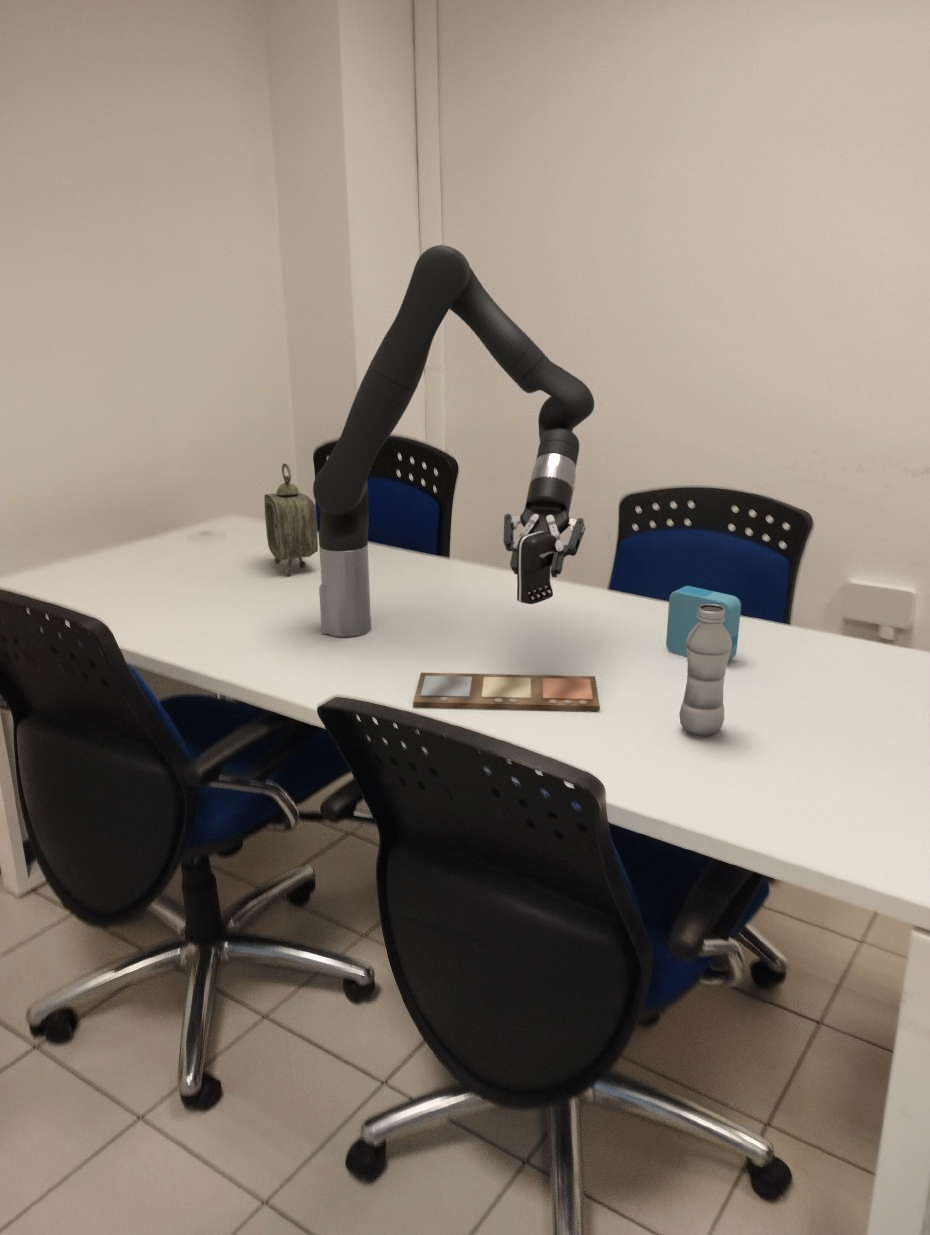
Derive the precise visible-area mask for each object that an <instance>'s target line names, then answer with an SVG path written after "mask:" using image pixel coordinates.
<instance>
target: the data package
mask: <svg viewBox="0 0 930 1235" xmlns="http://www.w3.org/2000/svg"><path fill="white" fill-rule="evenodd" d="M704 604H714V605H719V606H722V607H724V610H725V613H724V617H725V621H724V622H723V623H722V624H723V625H724V627H725V628H726V630H727V631H728V633H729V635H730V636H731V641H732V647H731V650H730V655H729V659H728V661H730V660H731V659H733V658H735V657H736V655H737V652H738V641H739V631H740V621H741V608H742V602H741V600H740V598H738V597H737V596H735V595H731V594H727V593H722V592H718V591H713V590H709V589H704V588H699V587H695V586H691V585H684V586H682V587H681V588H680V587H679V589H676V590H675V591H673V592H671V593H670V595H669V598H668V610H667V611H668V612H667V614H668V615H667V627H666V637H665V638H666V640H665V645H666V648H667V650H668V651H669V652H671V653H673V654H675V655H679V656H681V657H682V656H683V657H687V637H688V635H689V633H690V632H691V631H692V629H693V628H694V627H695V626H696V625H697V624H698V623H699V620H698V619H697V616H698V611H699V606H701V605H704Z"/></svg>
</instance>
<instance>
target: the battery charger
mask: <svg viewBox="0 0 930 1235" xmlns="http://www.w3.org/2000/svg"><path fill="white" fill-rule="evenodd" d="M556 541H557V540H556V538H555V537H554V535H552V534H549V533H546V532H544V531H538V532H534V533H531V534H528V535H525V536H523V537H521V538H520V540H519V542H518V547H517V574H516V577H517V578H516V581H517V591H516V593H517V594H516V601H518V602H519V603H520V604H522V603H523V604H525V605H526V604H527V605H534V604H537V603H541V602H543V601H546V600H548V599H550V598H552V597H553V596H554V593H553V592H554V591H553V588H552V585H551V567H552V561H553V556H554V552H556V547H555V544H556Z"/></svg>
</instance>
